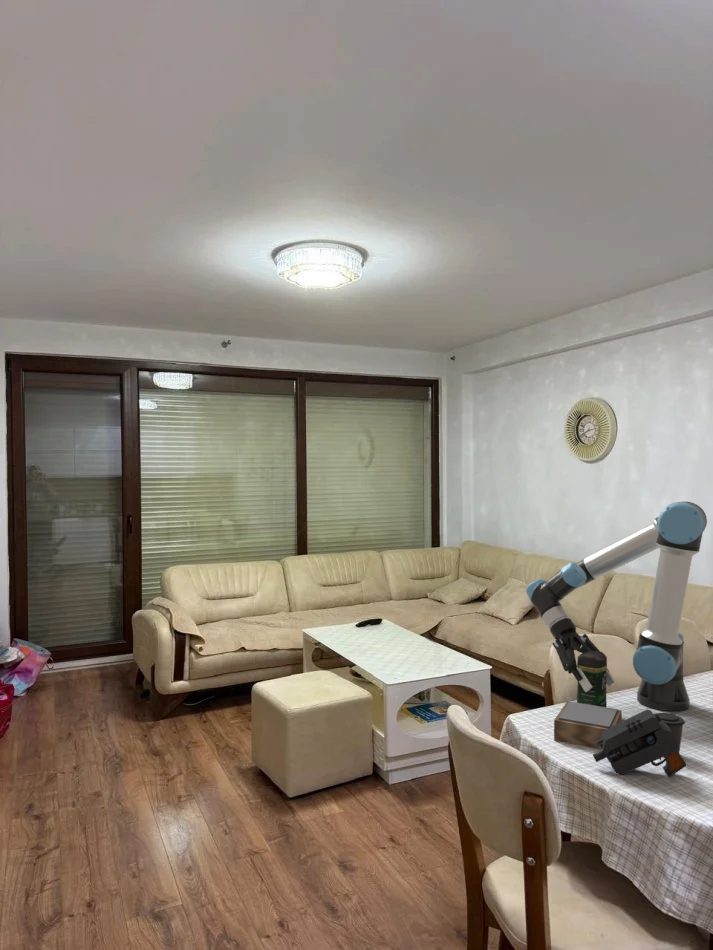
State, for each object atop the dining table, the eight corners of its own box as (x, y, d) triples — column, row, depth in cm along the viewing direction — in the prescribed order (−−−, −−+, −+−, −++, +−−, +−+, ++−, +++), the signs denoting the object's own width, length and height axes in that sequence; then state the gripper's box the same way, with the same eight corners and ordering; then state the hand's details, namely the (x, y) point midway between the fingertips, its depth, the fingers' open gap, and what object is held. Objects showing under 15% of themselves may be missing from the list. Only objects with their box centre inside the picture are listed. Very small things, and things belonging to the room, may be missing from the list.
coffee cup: (684, 750, 171) (684, 712, 171) (685, 763, 164) (685, 723, 164) (650, 745, 175) (650, 707, 175) (650, 757, 167) (650, 718, 167)
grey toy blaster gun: (694, 769, 153) (660, 711, 155) (619, 803, 157) (586, 746, 158) (687, 759, 159) (654, 703, 161) (614, 791, 163) (583, 736, 164)
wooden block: (621, 730, 185) (621, 708, 185) (612, 751, 171) (612, 728, 171) (566, 720, 193) (566, 699, 193) (554, 740, 178) (554, 718, 178)
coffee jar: (600, 721, 192) (600, 657, 192) (573, 715, 197) (573, 653, 197) (610, 711, 200) (610, 650, 200) (584, 706, 205) (584, 646, 205)
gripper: (576, 626, 217) (617, 687, 204) (528, 634, 206) (567, 699, 192) (589, 613, 213) (632, 674, 199) (540, 620, 201) (582, 686, 188)
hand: (600, 686), depth 196 cm, fingers closed on coffee jar, 10 cm apart
